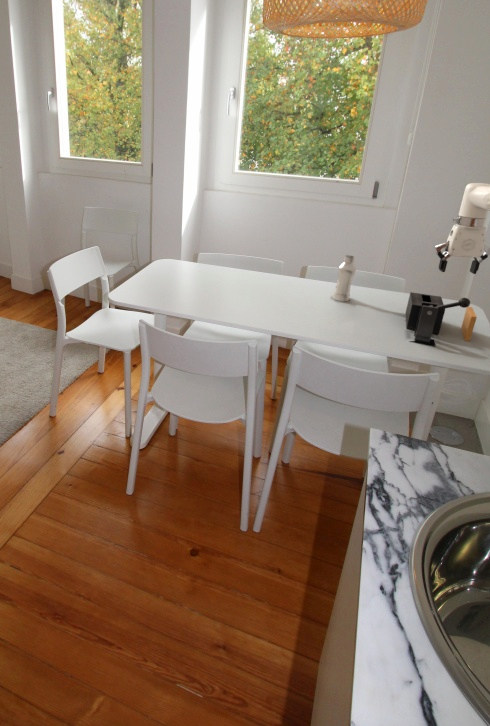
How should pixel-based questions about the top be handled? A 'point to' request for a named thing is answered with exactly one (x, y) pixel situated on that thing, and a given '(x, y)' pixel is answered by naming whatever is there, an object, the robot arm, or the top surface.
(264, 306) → the top surface
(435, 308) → the lever bracket
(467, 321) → the toast
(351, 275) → the plastic bottle
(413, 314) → the toaster
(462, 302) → the toaster lever
